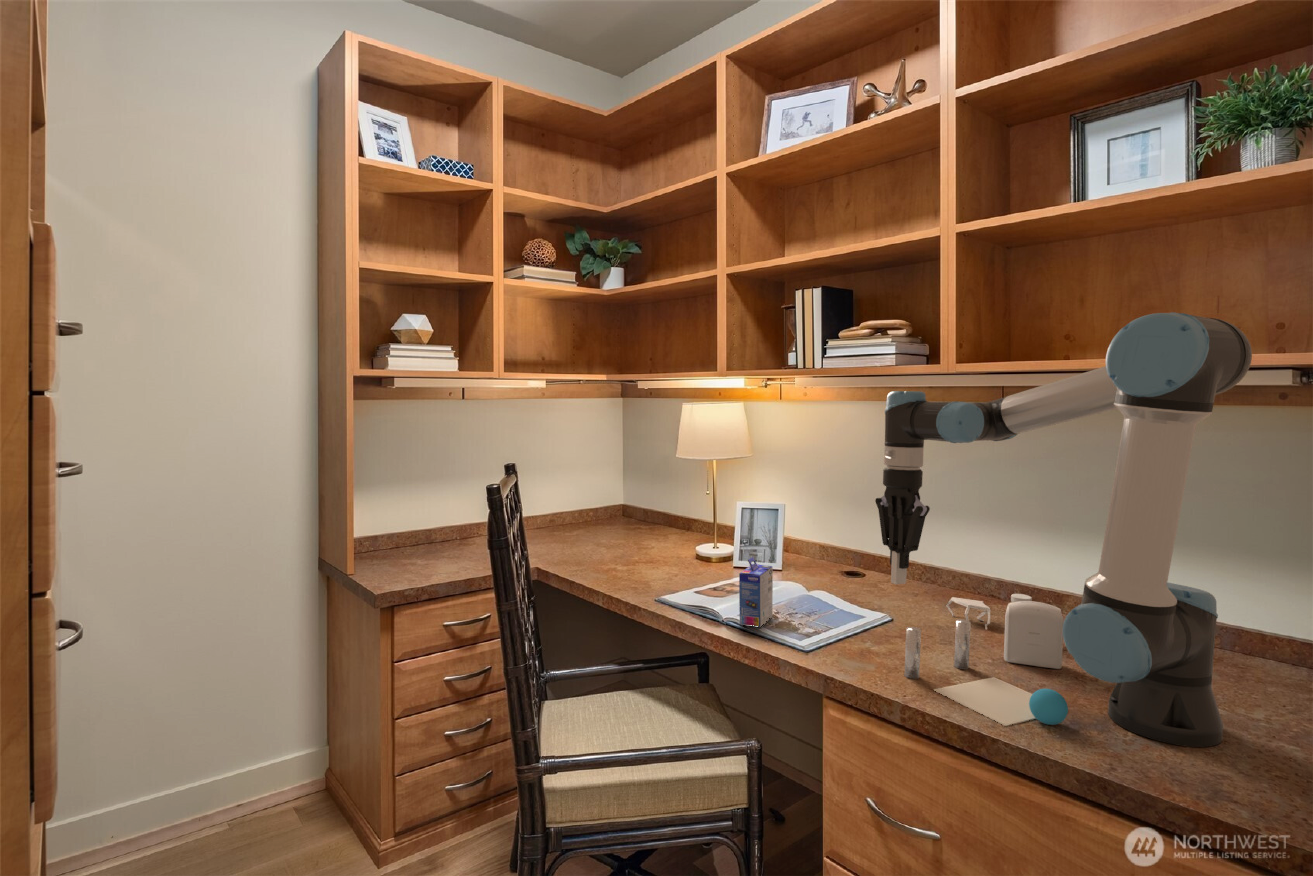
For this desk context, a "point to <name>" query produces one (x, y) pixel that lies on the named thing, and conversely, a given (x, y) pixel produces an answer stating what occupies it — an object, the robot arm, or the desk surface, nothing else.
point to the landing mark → (992, 700)
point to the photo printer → (1033, 634)
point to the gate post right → (962, 644)
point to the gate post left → (912, 652)
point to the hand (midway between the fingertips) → (898, 582)
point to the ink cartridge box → (755, 594)
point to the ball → (1048, 706)
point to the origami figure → (971, 604)
